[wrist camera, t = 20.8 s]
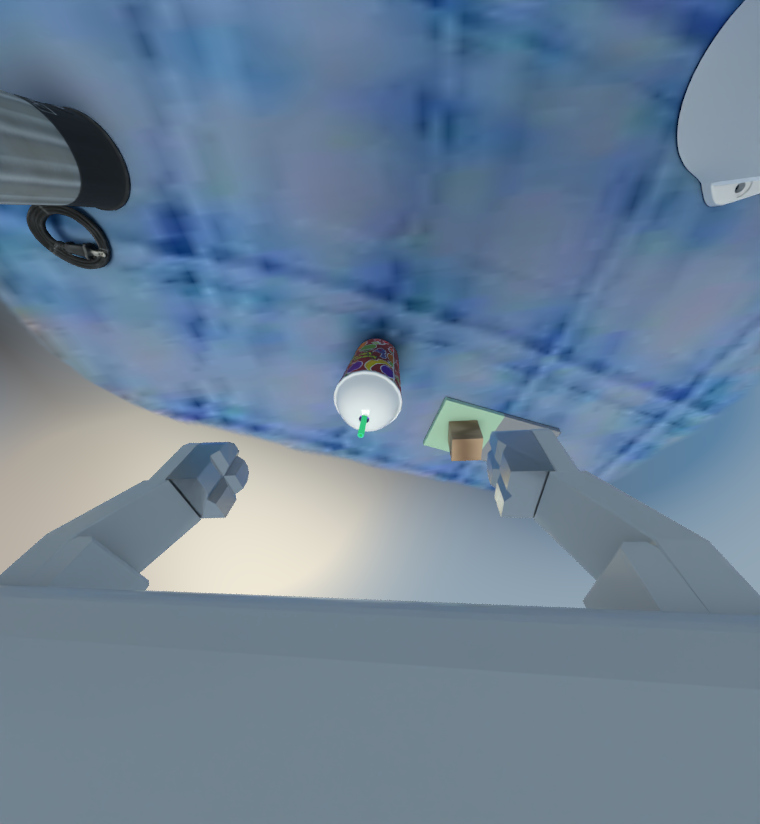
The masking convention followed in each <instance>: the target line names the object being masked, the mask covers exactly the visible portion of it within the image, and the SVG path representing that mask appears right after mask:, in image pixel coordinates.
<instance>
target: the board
mask: <svg viewBox="0 0 760 824" xmlns="http://www.w3.org/2000/svg"><path fill="white" fill-rule="evenodd" d="M467 420H477V421H478V424H479V427H480V430H481V433H482V436H483V446H482V455H481V460H483V461H486V462H487V454H488V452H489V451H490V450H491V446H490V443H489V440H490V435H491V432H492V431H511V430H529V429H541V428H549V429H550V430H552V432H553V433H554V434H555V436H556V437H558V435H559V434H560V433H561V432H560V430H559V429H557V428H553V427H550V426H546V425H543V424H539V423H536V422H532V421H529V420H525V419H522V418H518V417H515V416H511V415H508V414H504V413H501V412H497V411H494V410H490V409H487V408H483V407H480V406H476V405H473V404H469V403H465V402H462V401H458V400H455V399H451V398H448V397H445V399H444V401H443V403H442V405H441V407H440V409H439V411H438V413H437V415H436V417H435V419H434V421H433V423H432V425H431V427H430V429H429V431H428V433H427V435H426V437H425V439H424V441H423V445H426V446H430V447H434V448H437V449H441V450H445V451H449V452H450V450H449V444H448V426H449V421H467Z"/></svg>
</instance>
